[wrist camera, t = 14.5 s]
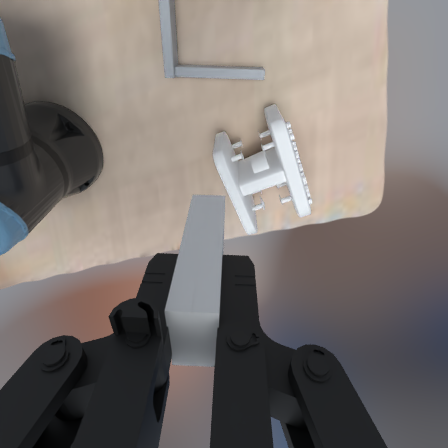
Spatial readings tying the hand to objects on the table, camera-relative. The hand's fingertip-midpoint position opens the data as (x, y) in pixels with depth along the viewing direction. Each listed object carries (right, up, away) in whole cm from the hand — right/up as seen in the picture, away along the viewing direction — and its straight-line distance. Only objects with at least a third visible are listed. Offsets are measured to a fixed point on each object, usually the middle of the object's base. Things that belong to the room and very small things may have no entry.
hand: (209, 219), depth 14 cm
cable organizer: (+7, +11, +34) cm, 37 cm away
